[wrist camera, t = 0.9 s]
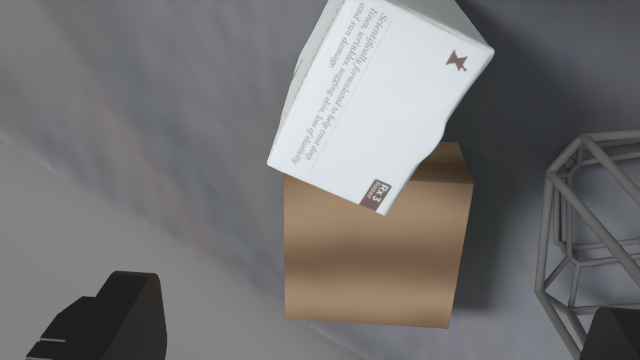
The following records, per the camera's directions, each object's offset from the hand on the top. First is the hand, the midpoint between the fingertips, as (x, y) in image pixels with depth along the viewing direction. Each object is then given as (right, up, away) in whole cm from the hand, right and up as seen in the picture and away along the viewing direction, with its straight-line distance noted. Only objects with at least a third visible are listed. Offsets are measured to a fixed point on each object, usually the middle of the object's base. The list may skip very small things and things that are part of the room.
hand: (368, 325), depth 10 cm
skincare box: (+2, +12, +23) cm, 27 cm away
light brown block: (+3, +1, +29) cm, 29 cm away
